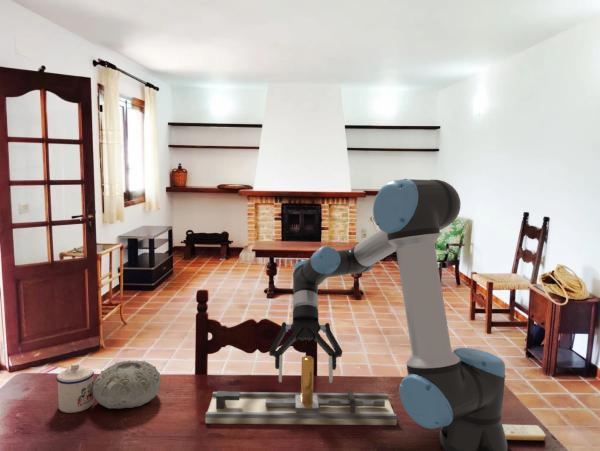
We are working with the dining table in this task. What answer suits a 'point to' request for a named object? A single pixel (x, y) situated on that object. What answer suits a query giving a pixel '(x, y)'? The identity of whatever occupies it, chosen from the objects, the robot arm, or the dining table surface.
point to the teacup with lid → (75, 388)
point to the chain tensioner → (310, 401)
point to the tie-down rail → (254, 411)
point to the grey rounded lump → (127, 384)
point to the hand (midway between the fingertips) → (305, 380)
